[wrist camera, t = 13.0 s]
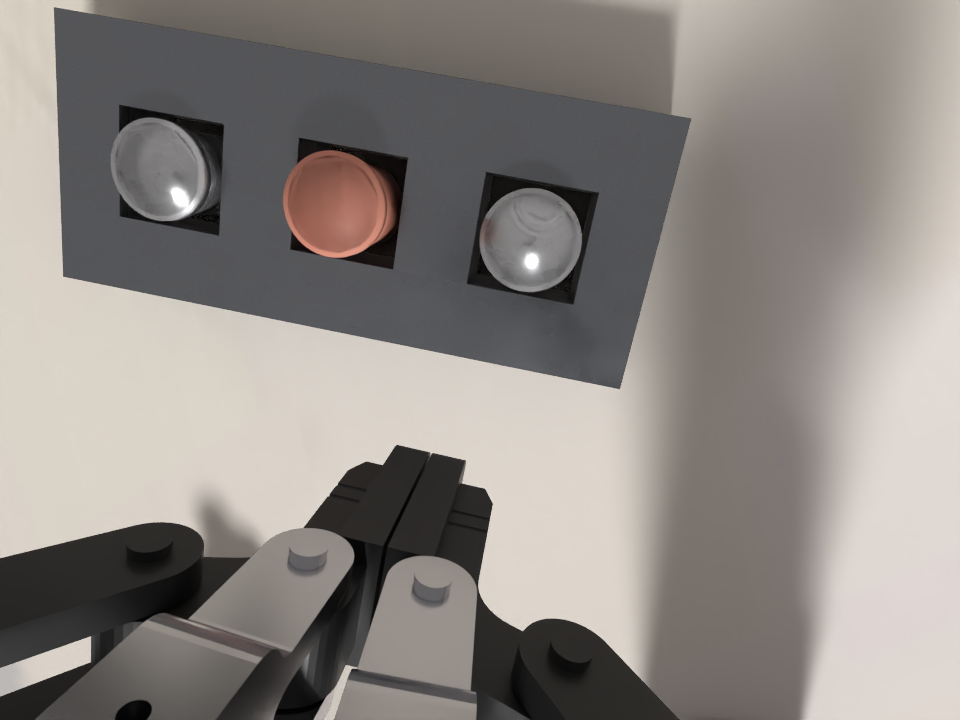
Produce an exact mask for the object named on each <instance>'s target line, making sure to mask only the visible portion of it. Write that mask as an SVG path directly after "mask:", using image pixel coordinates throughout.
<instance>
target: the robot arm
mask: <svg viewBox="0 0 960 720" xmlns="http://www.w3.org/2000/svg"><path fill="white" fill-rule="evenodd" d="M465 465H466V461H465V460H461V459H456V458H452V457H448V456H443V455H439V454H435V453H432V455H431V457H430V452H425V451H421V450H417V449H412V448H408V447H404V446H399V445H396V446H395V448H394V449H393V451H392V452H391V454H390V455H389V457H388V458H387V460H386V461H385V463H384V465H379V464H375V463H370V462H364V463H362V464H360V465H358V466H356V467H354V468H352V469H350V470H348V471H347V472H346V474H345V475H344V476H343V478H342V479H341V480H340V482H339V483H338V486H336V487H335V488H334V489H333V491H332V492H331V493H330V496H329V497H327V498H326V500H325V501H324V502H323V503H322V505H321V506H320V507H319V509H318V510H317V511H316V513H315V514H314V515H313V516H312V518H311V519H310V520H309V522H308V523H307V524H306V525H305V527H304V528H300V529H293V530H289V531H285V532H282V533H280V534H278V535H276V536H274V537H272V538H271V539H270V540H268V541H267V542H266V543H265V544H264V545H263V546H262V547H261V548H260V549H259V550H258V551H257V552H256V553H255V554H254V555H253V556H252V557H249V558H213V557H203V554H204V542H203V539H202V537H201V536H200V535H199V534H198V533H197V532H196V531H194V530H193V529H191V528H189V527H186V526H183V525H180V524H174V523H163V522H160V523H146V524H140V525H135V526H131V527H127V528H123V529H119V530H115V531H111V532H107V533H102V534H98V535H94V536H90V537H86V538H82V539H78V540H74V541H70V542H66V543H61V544H57V545H53V546H49V547H45V548H41V549H37V550H33V551H29V552H24V553H20V554H16V555H12V556H8V557H4V558H0V668H1V667H4V666H7V665H10V664H13V663H15V662H18V661H21V660H24V659H27V658H30V657H33V656H35V655H38V654H41V653H44V652H47V651H50V650H52V649H55V648H58V647H61V646H64V645H67V644H70V643H72V642H75V641H78V640H81V639H84V638H87V637H90V636H91V663H88V664H85V665H83V666H80V667H77V668H75V669H72V670H69V671H67V672H64V673H62V674H59V675H56V676H54V677H51V678H48V679H46V680H43V681H40V682H38V683H35V684H33V685H30V686H27V687H25V688H22V689H19V690H17V691H14V692H11V693H9V694H6V695H4V696H1V697H0V720H324V719H325V717H326V715H327V713H328V711H329V709H330V706H331V704H332V699H333V693H334V688H335V686H336V685H337V683H338V681H339V679H340V676H341V674H342V672H343V670H344V667H345V665H350V666H353V667H357V669H352V670H351V672H350V674H349V677H348V679H347V682H346V685H345V688H344V691H343V694H342V697H341V700H340V703H339V706H338V709H337V712H336V715H335V719H334V720H679V719H678V718H677V717H676V716H675V715H674V714H673V713H672V712H671V711H670V710H669V708H668V707H667V706H666V705H665V704H664V703H663V702H662V701H661V700H660V699H659V698H658V697H657V696H656V695H655V694H654V693H653V692H652V691H651V690H650V688H649V687H648V686H647V685H646V684H645V683H644V682H643V681H642V680H641V679H640V678H639V677H638V676H637V675H636V674H635V673H634V672H633V671H632V670H631V669H630V667H629V666H628V665H627V664H626V663H625V662H624V661H623V660H622V659H621V658H620V657H619V656H618V655H617V654H616V653H615V652H614V651H613V650H612V649H611V647H610V646H609V645H608V644H607V643H606V642H605V641H604V640H603V639H601V638H600V637H599V636H598V635H596V634H595V633H594V632H592V631H591V630H589V629H587V628H586V627H584V626H581V625H579V624H577V623H574V622H571V621H567V620H562V619H544V620H539V621H536V622H534V623H532V624H531V625H529V626H528V627H527V628H526V629H525V630H524V631H521V630H519V629H517V628H515V627H513V626H511V625H509V624H508V623H506V622H504V621H502V620H501V619H500V618H498V617H497V616H496V615H495V614H493V613H492V612H491V611H490V610H489V609H488V607H487V606H486V605H485V604H484V602H483V600H482V598H481V596H480V594H479V589H478V580H479V575H480V569H481V564H482V559H483V553H484V548H485V542H486V537H487V532H488V526H489V521H490V516H491V510H492V505H493V504H492V502H491V500H490V498H489V496H488V494H487V492H486V490H485V489H483V488H478V487H474V486H470V485H466V484H462V480H463V475H464V470H465Z"/></svg>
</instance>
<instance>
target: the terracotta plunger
mask: <svg viewBox="0 0 960 720" xmlns="http://www.w3.org/2000/svg"><path fill="white" fill-rule="evenodd" d="M402 200H403V195H402V191H401V189H400V187H399V185H398V183H397V181H396V180H395V179H394V177H393V176H392V175H391V174H390V173H389V172H387V171H386V170H385V169H383V168H381V167H380V166H377V165H375V164H371V163H366V162H364V161H363V160H361V159H359V158H358V157H356V156H353V155H351V154H348V153H344V152H340V151H333V150H326V151H320V152H316V153H313V154H311V155H309V156H307V157H305V158H304V159H302V160H301V161H300V162H299V163H298V164H297V165H296V166H295V167H294V168H293V170H292V171H291V173H290V175H289V176H288V179H287V181H286V184H285V188H284V194H283V206H284V213H285V217H286V220H287V222H288V225H289V227H290V229H291V230H292V232H293V233H294V235H295V236H296V237H297V239H298V240H299V241H300V242H301V243H302V244H303V245H304V246H306V247H307V248H308V249H310V250H312V251H313V252H315V253H317V254H320V255H323V256H326V257H333V258H341V257H347V256H351V255H354V254H358V253H360V252H362V251H364V250H365V249H367V248H368V247H370V246H372V245H376V244H379V243H381V242H384V241H385V240H387V239H389V238H390V237H391V236H392V235H393V234H394V233H395V232H396V230H397V229H398V227H399V222H400V215H401V207H402Z"/></svg>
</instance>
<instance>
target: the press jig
mask: <svg viewBox="0 0 960 720" xmlns="http://www.w3.org/2000/svg"><path fill="white" fill-rule="evenodd" d="M54 21H55V50H56V79H57V107H58V136H59V165H60V194H61V223H62V252H63V277H68V278H73V279H78V280H83V281H88V282H93V283H98V284H103V285H108V286H113V287H118V288H123V289H128V290H133V291H138V292H143V293H147V294H152V295H157V296H162V297H167V298H172V299H177V300H182V301H187V302H192V303H197V304H202V305H207V306H212V307H217V308H222V309H227V310H232V311H236V312H241V313H246V314H251V315H256V316H261V317H266V318H271V319H276V320H281V321H286V322H291V323H296V324H301V325H306V326H311V327H316V328H320V329H325V330H330V331H335V332H340V333H345V334H350V335H355V336H360V337H365V338H370V339H375V340H380V341H385V342H390V343H395V344H400V345H405V346H409V347H414V348H419V349H424V350H429V351H434V352H439V353H444V354H449V355H454V356H459V357H464V358H469V359H474V360H479V361H484V362H489V363H493V364H498V365H503V366H508V367H513V368H518V369H523V370H528V371H533V372H538V373H543V374H548V375H553V376H558V377H563V378H568V379H573V380H578V381H582V382H587V383H592V384H597V385H602V386H607V387H612V388H617V389H620V386H621V383H622V379H623V375H624V371H625V367H626V364H627V360H628V356H629V352H630V349H631V345H632V341H633V337H634V333H635V330H636V326H637V322H638V318H639V314H640V311H641V307H642V303H643V299H644V295H645V292H646V288H647V284H648V280H649V276H650V273H651V269H652V265H653V261H654V258H655V254H656V250H657V246H658V242H659V239H660V235H661V231H662V227H663V223H664V220H665V216H666V212H667V208H668V204H669V201H670V197H671V193H672V189H673V185H674V182H675V178H676V174H677V170H678V167H679V163H680V159H681V155H682V151H683V148H684V144H685V140H686V136H687V132H688V129H689V125H690V121H691V118H685V117H679V116H673V115H668V114H662V113H656V112H651V111H645V110H639V109H633V108H628V107H622V106H616V105H610V104H605V103H599V102H593V101H588V100H582V99H576V98H570V97H565V96H559V95H553V94H547V93H542V92H536V91H530V90H524V89H519V88H513V87H507V86H502V85H496V84H490V83H484V82H479V81H473V80H467V79H461V78H456V77H450V76H444V75H439V74H433V73H427V72H421V71H416V70H410V69H404V68H398V67H393V66H387V65H381V64H376V63H370V62H364V61H358V60H353V59H347V58H341V57H335V56H330V55H324V54H318V53H313V52H307V51H301V50H295V49H290V48H284V47H278V46H272V45H267V44H261V43H255V42H250V41H244V40H238V39H232V38H227V37H221V36H215V35H209V34H204V33H198V32H192V31H187V30H181V29H175V28H169V27H164V26H158V25H152V24H146V23H141V22H135V21H129V20H124V19H118V18H112V17H106V16H101V15H95V14H89V13H83V12H78V11H72V10H66V9H60V8H55V7H54ZM174 117H176V118H181V119H187V120H192V121H198V122H203V123H208V124H214V125H219V126H224V137H223V160H222V183H221V206H220V224H218V223H213V222H208V221H203V220H198V219H192V218H185V219H182V220H176V221H158V220H153V219H150V218H147V217H145V216H143V215H141V214H139V213H138V212H137V211H135V210H134V209H133V208H132V207H131V206H129V205H128V203H127V202H126V201H125V200H124V199H123V197H122V196H121V194H120V193H119V191H118V189H117V187H116V185H115V182H114V179H113V176H112V171H111V152H112V147H113V144H114V141H115V139H116V137H117V136H118V134H119V133H120V131H121V130H122V129H123V128H124V127H125V126H127V125H128V124H129V123H131V122H133V121H135V120H138V119H142V118H159V119H163V120H168V121H171V122H174ZM331 146H334V147H339V148H345V149H350V150H355V151H361V152H366V153H372V154H377V155H383V156H388V157H394V158H399V159H404V160H408V162H407V169H406V177H405V184H404V192H403V200H402V207H401V215H400V222H399V230H398V237H397V245H396V252H395V258H394V257H389V256H383V255H378V254H373V253H368V252H363V251H362V252H360V253H358V254H354V255H351V256H347V257H341V258H333V257H326V256H323V255H320V254H317V253H315V252H313V251H312V250H310V249H308V248H307V247H306V246H304V245H303V244H302V243H301V242H300V241H299V240H298V239H297V237H296V236H295V235H294V233H293V232H292V230H291V229H290V227H289V225H288V222H287V220H286V217H285V213H284V206H283V194H284V188H285V184H286V181H287V179H288V176H289V175H290V173H291V171H292V170H293V168H294V167H295V166H296V165H297V164H298V163H299V162H300V161H301V160H302V159H304V158H305V157H307V156H309V155H311V154H313V153H316V152H320V151H326V150H331ZM494 176H497V177H502V178H508V179H513V180H519V181H524V182H530V183H535V184H541V185H546V186H551V187H557V188H562V189H568V190H573V191H579V192H584V193H590V194H591V199H590V203H589V208H588V212H587V217H586V221H585V225H584V230H583V234H582V245H581V251H580V254H579V258H578V260H577V262H576V265H575V270H574V274H573V279H572V283H571V288H570V292H569V291H564V290H559V289H554V288H548V289H545V290H541V291H536V292H524V291H518V290H514V289H512V288H509V287H507V286H505V285H504V284H502V283H501V282H499V281H498V280H497V279H496V278H495V277H492V276H487V275H481V274H476V273H477V268H478V262H479V256H480V251H481V250H480V231H481V227H482V224H483V221H484V218H485V217H486V215H487V211H488V205H489V199H490V194H491V188H492V182H493V177H494Z"/></svg>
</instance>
